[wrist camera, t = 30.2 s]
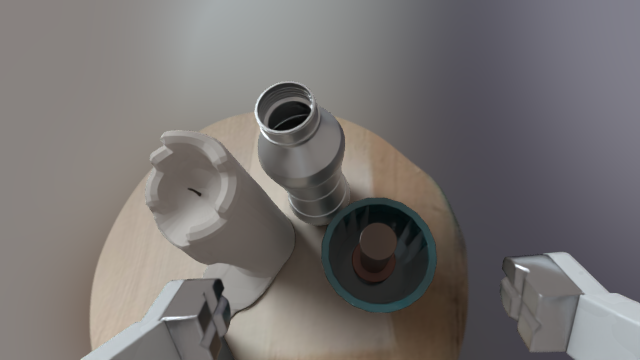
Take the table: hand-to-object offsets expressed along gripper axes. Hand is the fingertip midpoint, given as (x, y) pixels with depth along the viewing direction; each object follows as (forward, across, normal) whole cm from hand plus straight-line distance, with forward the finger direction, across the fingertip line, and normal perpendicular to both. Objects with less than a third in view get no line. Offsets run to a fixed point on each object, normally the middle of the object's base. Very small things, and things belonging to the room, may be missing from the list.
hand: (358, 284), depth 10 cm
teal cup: (+21, -1, +16) cm, 27 cm away
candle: (+22, +13, +16) cm, 30 cm away
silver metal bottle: (+26, +4, +11) cm, 29 cm away
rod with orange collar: (+20, -1, +16) cm, 26 cm away
